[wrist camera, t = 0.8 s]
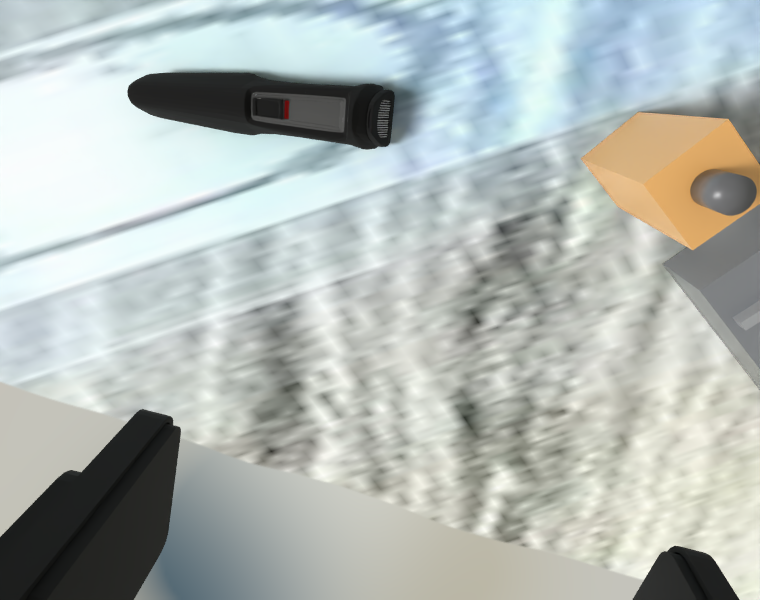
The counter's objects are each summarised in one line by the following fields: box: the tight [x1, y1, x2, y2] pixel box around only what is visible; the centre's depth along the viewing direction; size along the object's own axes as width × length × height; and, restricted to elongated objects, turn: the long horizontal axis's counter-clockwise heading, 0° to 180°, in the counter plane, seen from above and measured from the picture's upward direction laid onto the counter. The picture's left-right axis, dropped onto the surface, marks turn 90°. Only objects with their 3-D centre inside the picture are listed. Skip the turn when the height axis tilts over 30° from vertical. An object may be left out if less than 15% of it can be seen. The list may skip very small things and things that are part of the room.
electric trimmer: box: [128, 73, 395, 149], centre depth 31 cm, size 4×16×3 cm, turn 84°
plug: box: [581, 112, 760, 250], centre depth 26 cm, size 4×4×12 cm
